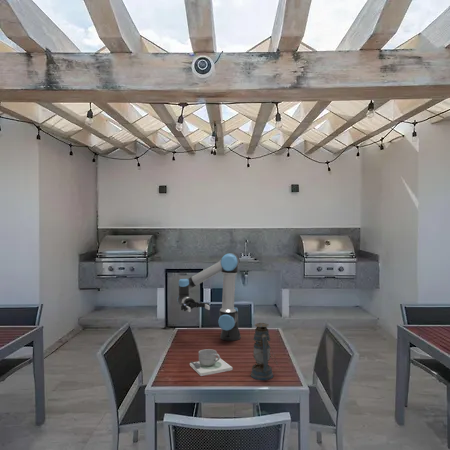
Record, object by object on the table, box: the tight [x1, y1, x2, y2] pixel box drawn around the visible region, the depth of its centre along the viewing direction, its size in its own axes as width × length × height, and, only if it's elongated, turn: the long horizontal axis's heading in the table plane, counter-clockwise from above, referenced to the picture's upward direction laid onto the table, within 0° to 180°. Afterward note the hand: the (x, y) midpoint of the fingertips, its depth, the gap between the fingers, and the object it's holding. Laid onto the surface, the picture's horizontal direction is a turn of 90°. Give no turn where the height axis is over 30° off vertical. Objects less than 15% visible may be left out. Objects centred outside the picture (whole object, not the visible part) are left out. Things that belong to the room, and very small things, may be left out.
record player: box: [189, 357, 233, 377], centre depth 229 cm, size 20×18×4 cm
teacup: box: [198, 348, 221, 366], centre depth 228 cm, size 14×11×8 cm
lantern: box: [250, 322, 279, 381], centre depth 216 cm, size 19×14×30 cm
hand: (199, 308), depth 252 cm, fingers open, 13 cm apart
